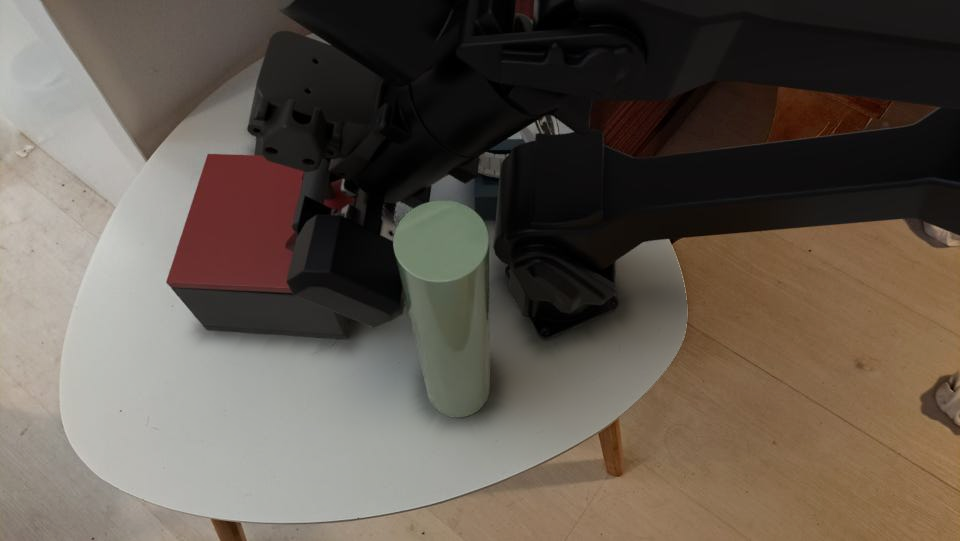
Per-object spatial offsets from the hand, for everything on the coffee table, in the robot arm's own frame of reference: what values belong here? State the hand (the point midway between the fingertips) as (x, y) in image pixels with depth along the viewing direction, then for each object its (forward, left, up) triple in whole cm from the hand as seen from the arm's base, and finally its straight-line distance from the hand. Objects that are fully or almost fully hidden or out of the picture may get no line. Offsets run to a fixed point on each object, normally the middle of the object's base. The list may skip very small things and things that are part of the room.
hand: (300, 214), depth 48 cm
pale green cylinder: (-6, +12, -8) cm, 16 cm away
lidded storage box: (+2, -1, -8) cm, 9 cm away
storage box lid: (+2, -1, -1) cm, 3 cm away
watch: (-16, -1, -9) cm, 18 cm away
